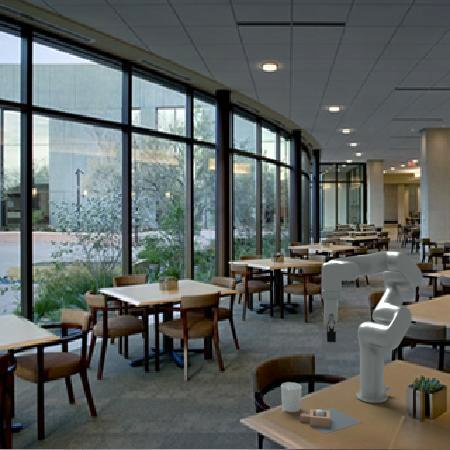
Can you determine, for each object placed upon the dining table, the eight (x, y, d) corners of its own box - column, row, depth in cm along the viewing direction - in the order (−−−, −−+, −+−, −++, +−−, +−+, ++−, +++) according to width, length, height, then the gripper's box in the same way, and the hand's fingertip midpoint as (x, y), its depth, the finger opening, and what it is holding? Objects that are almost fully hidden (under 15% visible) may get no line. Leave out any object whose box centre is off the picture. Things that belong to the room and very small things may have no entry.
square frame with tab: (300, 424, 169) (300, 415, 169) (300, 416, 176) (301, 408, 176) (329, 427, 167) (329, 418, 167) (329, 418, 174) (329, 410, 174)
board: (330, 410, 185) (330, 397, 185) (362, 425, 171) (362, 411, 171) (294, 420, 176) (294, 406, 176) (324, 437, 162) (325, 422, 162)
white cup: (301, 416, 179) (301, 390, 179) (280, 414, 181) (280, 388, 181) (301, 408, 187) (302, 383, 187) (281, 406, 188) (281, 381, 188)
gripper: (321, 291, 192) (321, 333, 193) (321, 297, 175) (321, 344, 176) (340, 291, 191) (340, 334, 191) (342, 298, 174) (342, 345, 174)
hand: (331, 338), depth 183 cm, fingers open, 9 cm apart
